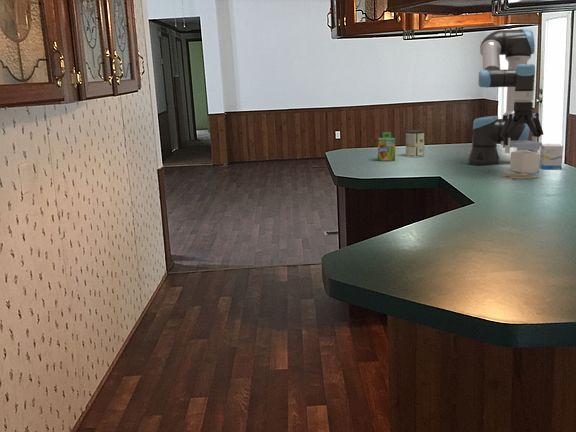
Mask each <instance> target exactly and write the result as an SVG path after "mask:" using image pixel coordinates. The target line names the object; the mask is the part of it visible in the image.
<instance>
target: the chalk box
mask: <svg viewBox="0 0 576 432" xmlns="http://www.w3.org/2000/svg"><path fill="white" fill-rule="evenodd" d="M385 135H388V136H385ZM381 136H382V137H378V142H377V143H378V144H377V145H378V147H377V161H378V162H395V161H396V142H397V141H396V138H395V137H392V132H391V131H383V132H382V134H381Z"/></svg>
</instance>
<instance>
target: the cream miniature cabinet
mask: <svg viewBox="0 0 576 432" xmlns="http://www.w3.org/2000/svg"><path fill="white" fill-rule="evenodd" d="M425 132H426V130H424V129H406V130H405V157H406V156H408V157H407V158H421V157H420V156H423V157H425Z"/></svg>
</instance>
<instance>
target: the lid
mask: <svg viewBox="0 0 576 432" xmlns="http://www.w3.org/2000/svg"><path fill="white" fill-rule="evenodd" d="M542 144H543V142H539V141H538V142H534V141H532V140H528V139H527V140H520V141H510V148H517V151H531V150H536V151H537V150H538V151H540V150H541V147H542ZM500 146H502V149H505V145H504V141H501V143H500Z"/></svg>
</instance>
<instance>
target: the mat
mask: <svg viewBox="0 0 576 432" xmlns="http://www.w3.org/2000/svg"><path fill="white" fill-rule="evenodd" d="M501 176H502V177H506V178H510V179H511V180H520V179H533V178H538V176H535V175H532V174H528V173H510V174H509V173H505V174H501Z"/></svg>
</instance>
